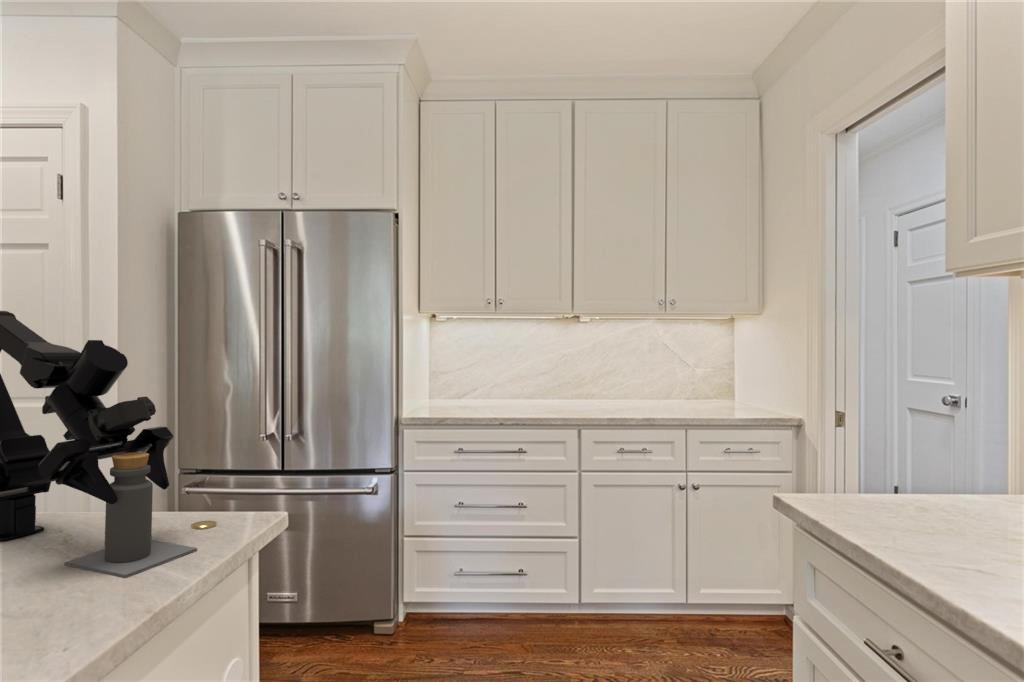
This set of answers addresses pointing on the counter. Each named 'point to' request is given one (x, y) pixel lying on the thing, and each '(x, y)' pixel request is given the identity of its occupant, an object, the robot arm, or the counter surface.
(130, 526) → the bottle
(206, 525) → the brass token
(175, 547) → the slate mat
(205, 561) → the counter surface
